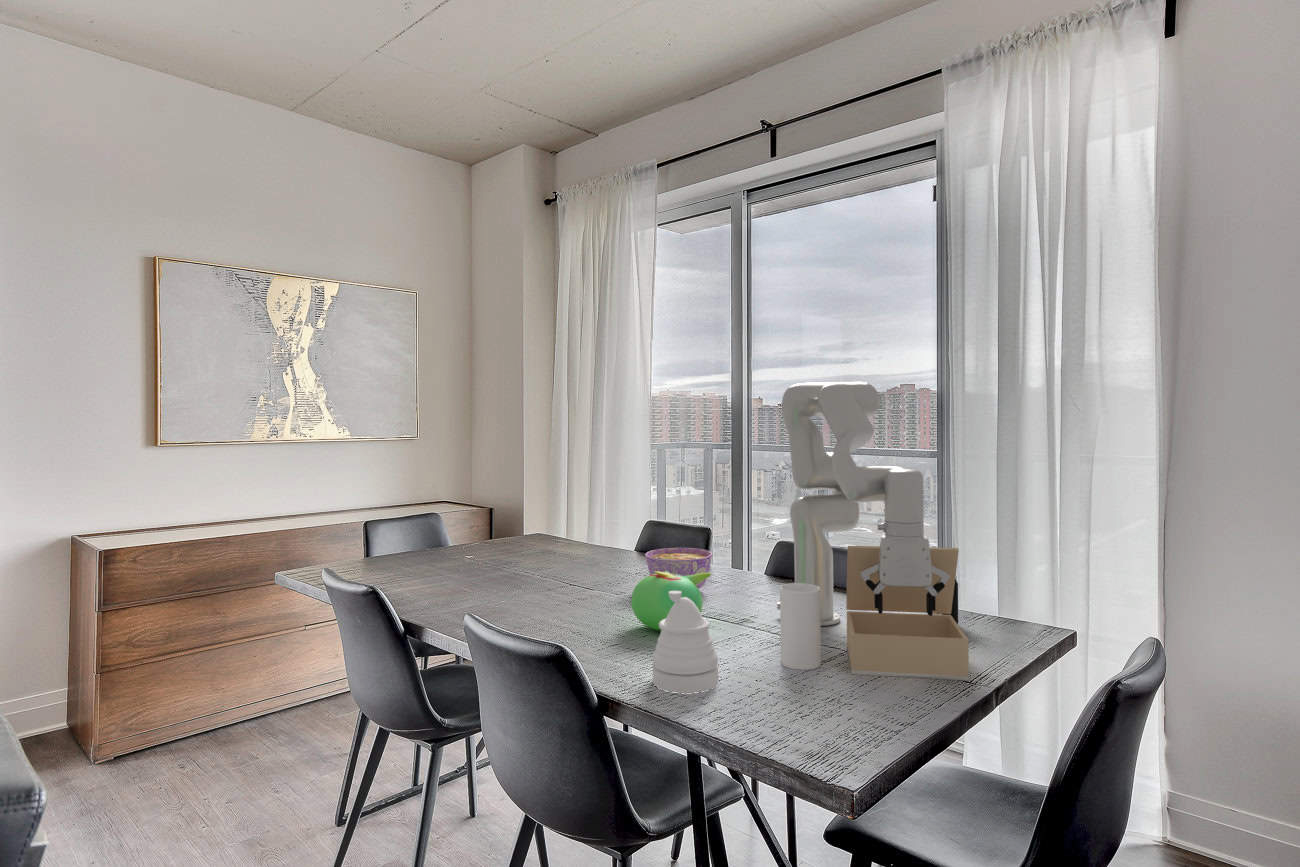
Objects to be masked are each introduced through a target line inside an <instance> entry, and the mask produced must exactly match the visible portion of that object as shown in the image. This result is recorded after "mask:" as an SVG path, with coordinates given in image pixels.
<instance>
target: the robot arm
mask: <svg viewBox="0 0 1300 867" xmlns="http://www.w3.org/2000/svg"><path fill="white" fill-rule="evenodd" d="M880 404H881V399H880V396H879V393H878V391H877V388H875V387H874V386H873V385H872V384H870V383H869V382H864V381H851V382H850V381H849V382H848V381H846V382H845V381H840V382H839V381H838V382H803V383H802V382H801V383H796V384H793V385H791V386H788V387H787V389H786V390H785V391H784V393H783V396H782V400H781V414H782V419H783V422H784V425H785V428H786V431H787V435H788V439H789V440H788V441H789V450H790V451H789V452H790V460H791V461H790V462H791V463H790V464H791V472H792V479H793V483H794V485H795V486H796V488H798V489H800V490H805V491H817V490H818V491H819V490H821V491H822V490H831V491H832V492H831V493H832V494H812V495H811V494H810V495H803V496H800V497H798V498H796V499H795V500H794V501H793V502H792V503H791V505H790V508H789V516H790V517H789V518H790V524H791V528H792V533H793V549H794V550H793V551H794V555H793V556H794V583H805V584H812V585H816V586H818V587H820V627H826V626H832V625H835V624H838V623H839V622H841V616H840V614H838V613H836V612H834V554H833V553H834V551H833V547H832V545H831V544H830V542H829V541H828V539H827V538H826V536H825V534H826V533H836V532H847V531H848V532H849V531H851V530H853V529H855V528H856V527H857V525H858V523H859V520H860V505H859V503H869V502H884V521H883V522H881V523H877V531H882V532H883V533H884V534H883V535H881V538H880V543H879V546H880V549H879V562H878V563H876V564H874V565H872V566H870V567H867V568H865V569H863V570H861V571H860V573H861V575H862V577H863V579H864V581H865V583H866V585H867V586H868V587H869V588H870V589H871V590H872V591H873V592H874V600H875V608H878V611H877V612H879V614H882V613H884V611H883V596H882V593H881V591H882V590H883V589H884V587H885V586H890V587H916V588H924V587H925V588H926V589H927V590H928V593H927V594H926V611H927V613H926V614H928V615H929V616H932V611H935V596H937V594H938V593H939V592H940V591H941V590H942V589H943V588H944V587H945V584H946V583H947V581H948V579H949V577H950V575H949V574H948V573H947V572H945V571H943V570H941V569H939V568H937V567H935V566H933V565H931V553H930V541H929V538H928V536H925V535H924V534H925V533H924V532H925V531H924V529H925V528H924V527H925V526H924V521H925V520H924V519H925V518H924V514H925V513H924V511H925V510H924V507H925V506H924V502H925V501H924V475H923V473H922V472H921V471H920V470H918V469H913V468H911V469H910V468H903V467H900V466H895V465H875V466H874V465H873V466H872V465H870V466H858V465H857V464H856V462H855V460H854V459H853V456H852V455H851V453H853V452H854V451H856V450H858V449H861V448H862V447H864V446H865V445H866V444H868V443H869V442H870V440H871V439H872V437H873V436H874V426H873V424H872V422H871V421H870V419H869V418H870V417H873V416H875V414H877V412H878V411H879V408H880ZM811 417H824V419H825V421H826V422H827V425H828V427H829V428H830V429H831V432H832V433H833V436H834V438H835V439H836V443H835V445H834V448H833V451H831V452H830V451H829V452H828V451H827V452H826V450H825V446H824V445H825V444H824V436H823V432H822V431H821V429H820V427H819V426H818V425H817V423H816V422H815V421H814V420H813V419H812V418H811ZM876 571H878V576H879V581H878V582H877V583H876V584H875V583H874V582H873V581H871V579H870V578H869V575H870V574H872V573H874V572H876ZM932 572H933V573H935V574H937V575H939V576H940V580H939V581H938V582H937V583H936V584H935V585H934V586H932V585H931V583H932ZM776 605H777V608H776V609H777V611H778V610H779V611H780V601H777V604H776Z"/></svg>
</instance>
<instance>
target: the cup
mask: <svg viewBox="0 0 1300 867" xmlns="http://www.w3.org/2000/svg"><path fill="white" fill-rule="evenodd" d="M779 602H780V610H779V611H780V614H779V616H780V617H779V618H780V664H781V665H783V666H784V667H786V668H788V669H791V670H792V669H794V670H798V671H799V670H801V671H809V670H810V671H811V670H814V669H817V668H819V667H821V665H822V662H821V661H822V660H821V659H822V655H821V654H822V652H821V651H822V649H821V639H822V638H821V634H822V633H821V632H822V631H821V626H820V587H818V586H816V585H812V584H805V583H795V582H792V583H791V582H790V583H785V584H781V585H780V588H779Z"/></svg>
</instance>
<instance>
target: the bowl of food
mask: <svg viewBox="0 0 1300 867" xmlns="http://www.w3.org/2000/svg"><path fill="white" fill-rule="evenodd" d="M644 556H645V560H646V564H647V569H648V573H649V575H652V574H656V573H655V571H659V572H665V571H667V572H669V573H674V574H679V575H681V576H689V575H694V574H700V573H710V572H709V571H710V567H711V561H712V557H713V553H712V552H711V551H709V550H707V549H703V548H702V549H701V548H693V547H668V548H659V549H653V550H652V549H651V550H649V551H647V552H645V553H644ZM707 580H708V578H706V579H704V580H703V581H701V582H699V583H698V584H696V586H697V587H698V589H699V590H700V589H701V588H702V587H703V586H705V584H706V581H707Z"/></svg>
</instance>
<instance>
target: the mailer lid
mask: <svg viewBox="0 0 1300 867" xmlns="http://www.w3.org/2000/svg"><path fill="white" fill-rule="evenodd" d="M879 549H880V545H878V546H876V545H875V546H874V545H847V562H846V564H847V565H846V566H847V568H846V569H847V570H846V571H847V572H846V573H847V574H846V609H845V610H846V611H864V612H878V608H875V600H874V592H873V591H872V590H871V589H870V588H869V587H868V586H867V585H866V583H865V581H864V579H863V577H862V575H861V573H860V571H861V570H863V569H865V568H867V567H870V566H872V565H874V564H876V563H878V562H879ZM930 553H931V565H933V566H935V567H937V568H939V569H941V570H943V571H945V572H947V573H948V574H949V575H950V577H949V579H948V581H947V583H946V584H945V587H944V588H943V589H942V590H941V591H940V592H939V593H938V594H937V596H935V611H932V613H942V614H951V610H952V602H953V593H954V585H955V577H956V578H957V566H958V559H959V547H934V546H932V547H930ZM869 578H870V579H871V581H873V582H874V583H875V584H876V583H877V582H878V581H879V576H878V571H876V572H874V573H872V574H870V575H869ZM939 580H940V576H939V575H937V574H935V573H933V572H932V583H931V585H932V586H934V585H935V584H936V583H937V582H938V581H939ZM881 593H882V596H883V612H889V613H915V614H928V613H927V611H926V594H927V593H928V590H927V589H926V588H925V587H924V588H916V587H890V586H885V587H884V589H883V590H882V591H881Z"/></svg>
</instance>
